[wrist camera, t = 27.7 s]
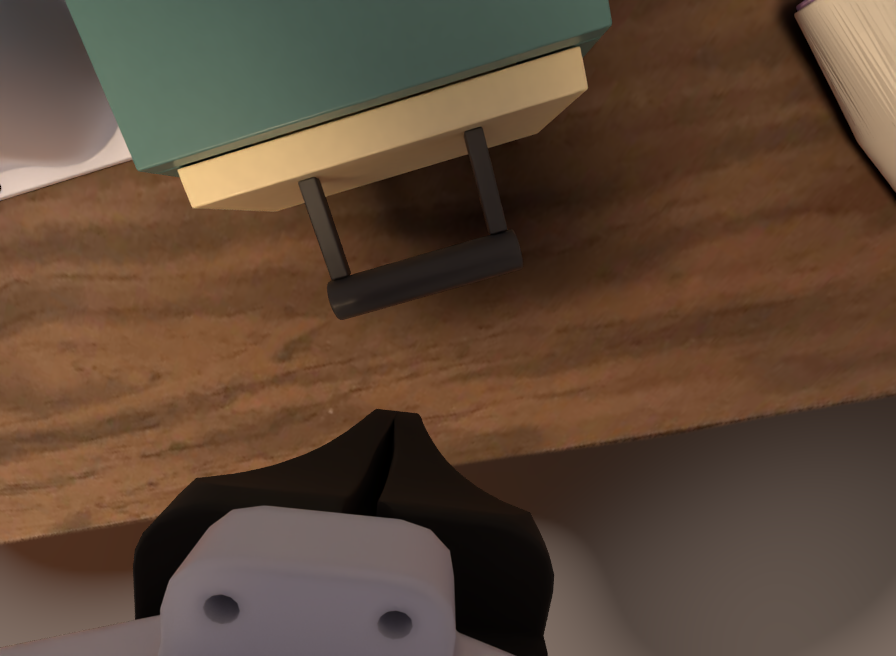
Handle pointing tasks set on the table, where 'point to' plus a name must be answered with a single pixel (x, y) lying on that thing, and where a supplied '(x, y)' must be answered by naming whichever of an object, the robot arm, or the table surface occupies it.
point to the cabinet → (298, 61)
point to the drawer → (398, 172)
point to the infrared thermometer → (859, 68)
